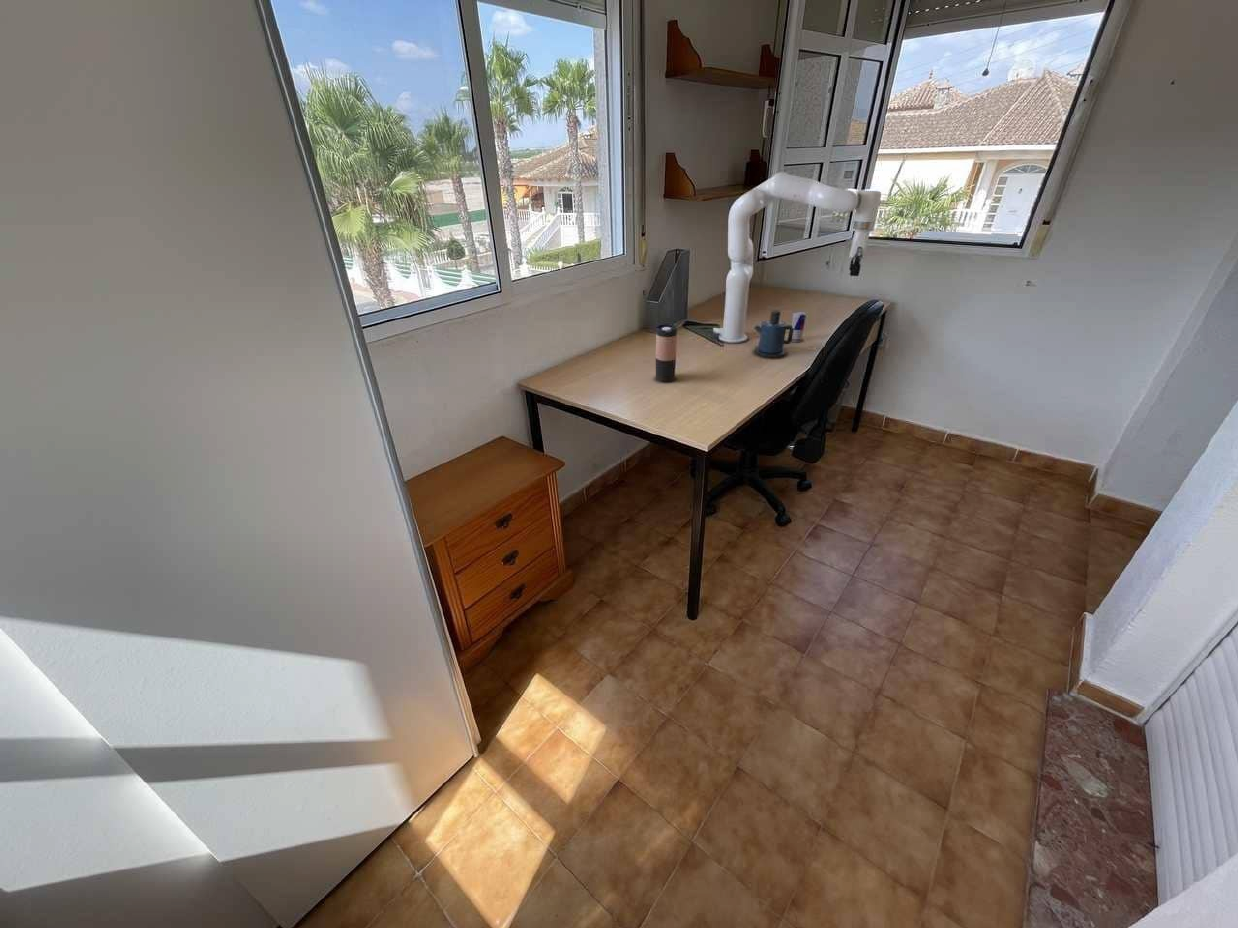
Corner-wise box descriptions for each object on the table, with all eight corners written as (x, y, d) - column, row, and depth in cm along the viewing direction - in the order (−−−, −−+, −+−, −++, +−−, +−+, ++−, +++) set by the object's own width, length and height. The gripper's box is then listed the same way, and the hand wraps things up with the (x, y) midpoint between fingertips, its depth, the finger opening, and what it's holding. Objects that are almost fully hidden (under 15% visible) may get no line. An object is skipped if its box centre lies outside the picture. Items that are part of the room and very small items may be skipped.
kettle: (750, 351, 218) (754, 313, 210) (753, 343, 226) (757, 306, 218) (789, 355, 214) (795, 316, 205) (791, 347, 222) (797, 309, 213)
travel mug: (662, 373, 204) (664, 322, 193) (679, 378, 200) (681, 326, 189) (651, 379, 199) (652, 328, 188) (667, 384, 195) (669, 332, 184)
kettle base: (752, 356, 218) (752, 353, 217) (756, 346, 228) (756, 343, 227) (784, 360, 214) (785, 356, 213) (787, 349, 224) (787, 346, 223)
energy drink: (801, 342, 231) (806, 315, 225) (789, 341, 232) (793, 315, 226) (800, 338, 236) (805, 312, 230) (788, 338, 237) (792, 311, 230)
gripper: (852, 223, 206) (843, 268, 216) (853, 229, 193) (843, 277, 202) (873, 223, 204) (863, 269, 213) (875, 230, 191) (864, 278, 200)
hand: (853, 273), depth 208 cm, fingers open, 9 cm apart
